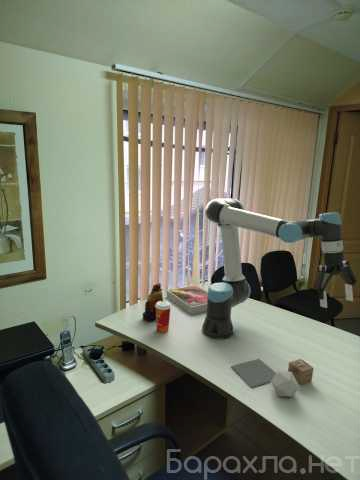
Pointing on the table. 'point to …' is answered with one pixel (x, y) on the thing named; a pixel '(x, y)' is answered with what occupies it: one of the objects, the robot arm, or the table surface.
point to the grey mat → (254, 372)
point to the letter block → (301, 371)
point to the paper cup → (162, 316)
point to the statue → (152, 303)
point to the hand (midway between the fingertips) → (336, 303)
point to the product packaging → (189, 298)
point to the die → (285, 384)
